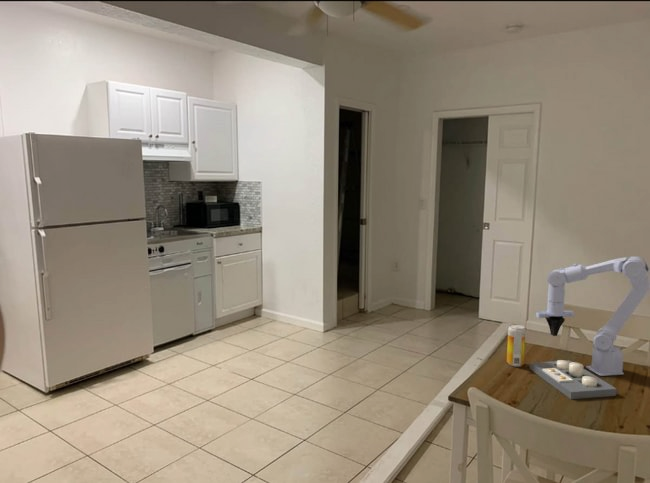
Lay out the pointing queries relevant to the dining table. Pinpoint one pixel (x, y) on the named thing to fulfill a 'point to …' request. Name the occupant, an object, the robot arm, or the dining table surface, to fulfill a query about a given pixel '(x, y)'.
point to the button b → (576, 369)
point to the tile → (557, 375)
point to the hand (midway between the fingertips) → (553, 335)
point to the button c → (589, 381)
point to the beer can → (516, 345)
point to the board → (576, 387)
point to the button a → (563, 364)
